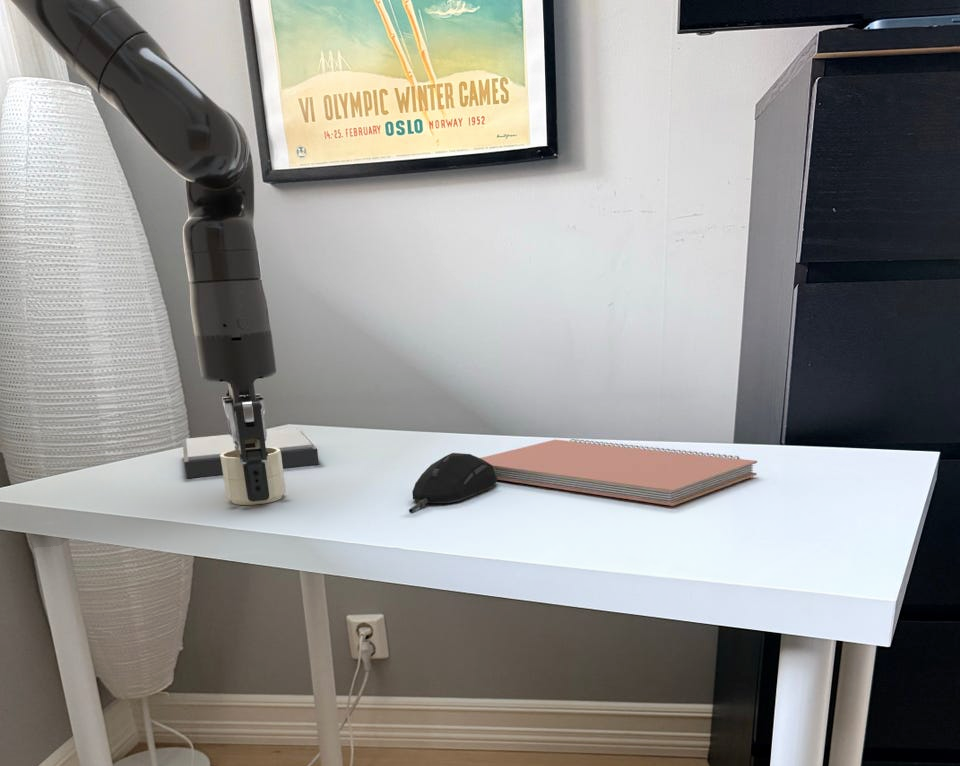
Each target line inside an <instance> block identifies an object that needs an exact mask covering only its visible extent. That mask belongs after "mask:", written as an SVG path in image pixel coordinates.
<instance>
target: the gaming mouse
mask: <svg viewBox="0 0 960 766" xmlns="http://www.w3.org/2000/svg"><path fill="white" fill-rule="evenodd" d="M481 458H482V457H478V456H476V455H473V454H471V453H460V452H451V453H449V454H447V455H444V456H443V457H441V458H440V459H438V460H437V461H435V462H433V463H431V465H429V466H428V467H427V468H426V469H425V471H424V472H423V473H422V474H420V476H419V477H418V479H417V480H416V482H415V483H414V485H413V489H412V491H411V492H412V493H411V494H412V500H414V501H417V503H416V504H415V505H414V506H412V507H410V508H409V509H408V512H409V513H411V514H412V513H413V512H414V511H416V510H418V509H420V508H423V507H425V506H427V504H451V503H452V504H453V503H457V502H460V501H463V500H466V499H468V498H470V497H473V496H475V495H478V494H481V493H483V492H486V491H488V490H489V489H492V488H493V487H494V486H495V484H496V483H497V482H498V480H497V476H496V474H495V471H494V468H493V466H492V465H491V464H489V463H488V462H486V461H484V460H483V459H481Z"/></svg>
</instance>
